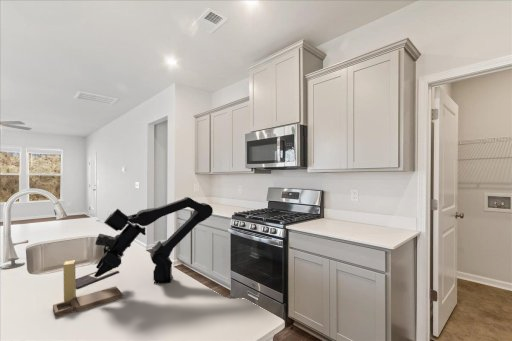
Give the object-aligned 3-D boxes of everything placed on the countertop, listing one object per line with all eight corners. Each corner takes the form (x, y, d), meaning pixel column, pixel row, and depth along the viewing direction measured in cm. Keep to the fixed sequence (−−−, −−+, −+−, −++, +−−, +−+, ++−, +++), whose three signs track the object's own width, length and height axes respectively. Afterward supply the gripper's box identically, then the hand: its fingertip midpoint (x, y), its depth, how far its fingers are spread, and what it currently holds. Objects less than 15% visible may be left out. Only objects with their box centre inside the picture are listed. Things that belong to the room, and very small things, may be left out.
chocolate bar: (63, 283, 106) (106, 267, 123) (63, 285, 106) (106, 270, 123) (77, 287, 102) (119, 271, 119) (77, 290, 102) (119, 273, 119)
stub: (75, 294, 98) (75, 260, 98) (74, 299, 94) (73, 263, 94) (65, 296, 96) (65, 261, 96) (63, 301, 93) (63, 264, 93)
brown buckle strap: (116, 289, 102) (115, 285, 102) (122, 297, 96) (122, 292, 96) (52, 308, 88) (52, 303, 88) (55, 318, 83) (55, 313, 83)
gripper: (109, 221, 109) (79, 253, 104) (107, 231, 93) (72, 269, 88) (131, 236, 113) (104, 268, 109) (134, 248, 97) (102, 286, 92)
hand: (96, 272), depth 99 cm, fingers open, 9 cm apart
